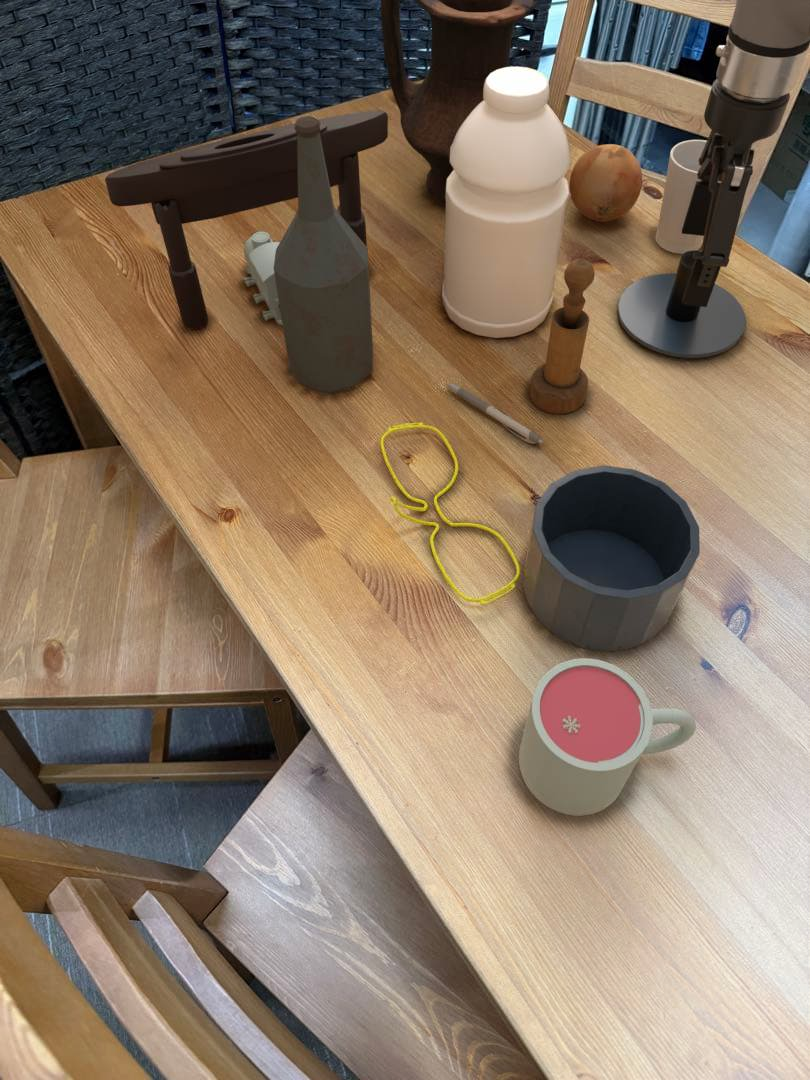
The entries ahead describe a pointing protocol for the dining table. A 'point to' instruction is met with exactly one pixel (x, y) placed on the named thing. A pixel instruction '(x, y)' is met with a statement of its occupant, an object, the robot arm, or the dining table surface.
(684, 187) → the cup
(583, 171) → the onion
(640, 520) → the pot
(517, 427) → the pen
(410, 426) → the glasses
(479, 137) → the bottle
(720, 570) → the dining table surface
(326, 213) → the bottle
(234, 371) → the dining table surface
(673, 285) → the lid
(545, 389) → the mortar and pestle
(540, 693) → the mug
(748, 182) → the robot arm
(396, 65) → the jug
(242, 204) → the stool
